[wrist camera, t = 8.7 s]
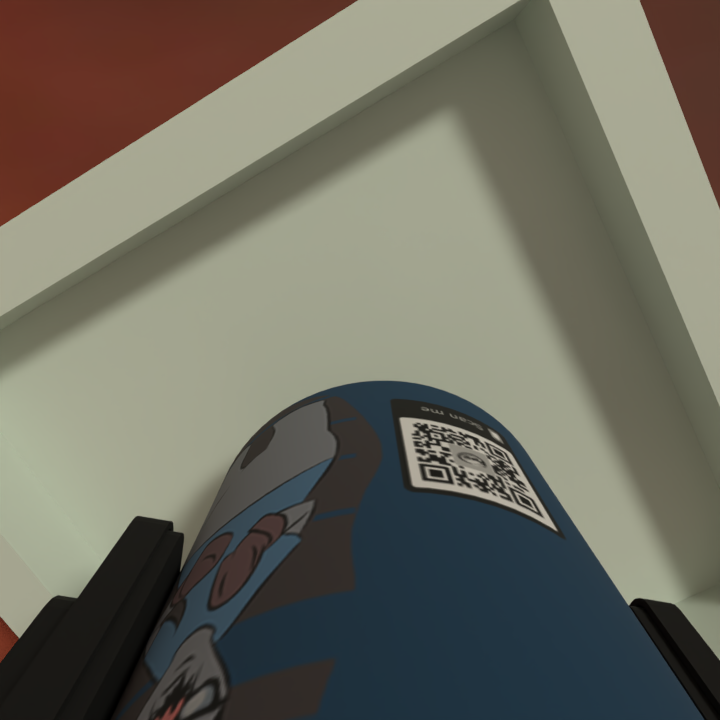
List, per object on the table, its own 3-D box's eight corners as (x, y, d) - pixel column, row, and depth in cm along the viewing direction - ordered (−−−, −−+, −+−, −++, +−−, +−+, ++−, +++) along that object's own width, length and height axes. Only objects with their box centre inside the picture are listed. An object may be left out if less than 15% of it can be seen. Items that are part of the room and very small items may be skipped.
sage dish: (798, 566, 17) (883, 638, 14) (264, 804, 19) (248, 904, 16) (535, -69, 12) (584, -144, 10) (-112, 334, 15) (-217, 364, 12)
